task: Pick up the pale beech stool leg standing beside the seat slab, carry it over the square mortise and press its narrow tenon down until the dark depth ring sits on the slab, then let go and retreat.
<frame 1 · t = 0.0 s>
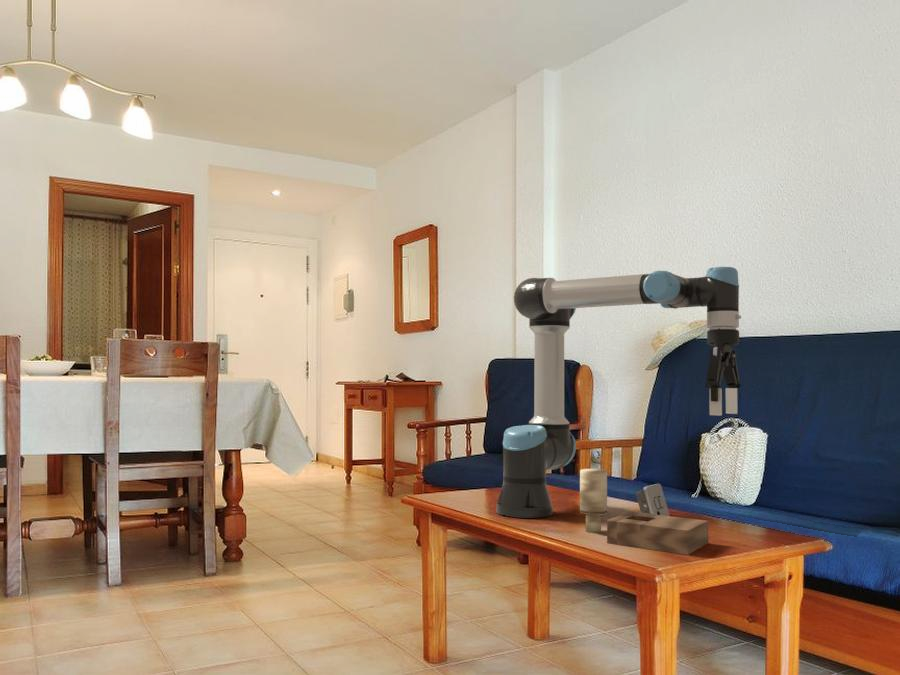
hand: (723, 414, 183), 28 cm above the table, fingers open, 13 cm apart
leg peg: (593, 531, 177), on the table
electrical switch: (652, 521, 192), on the table
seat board: (657, 543, 165), on the table
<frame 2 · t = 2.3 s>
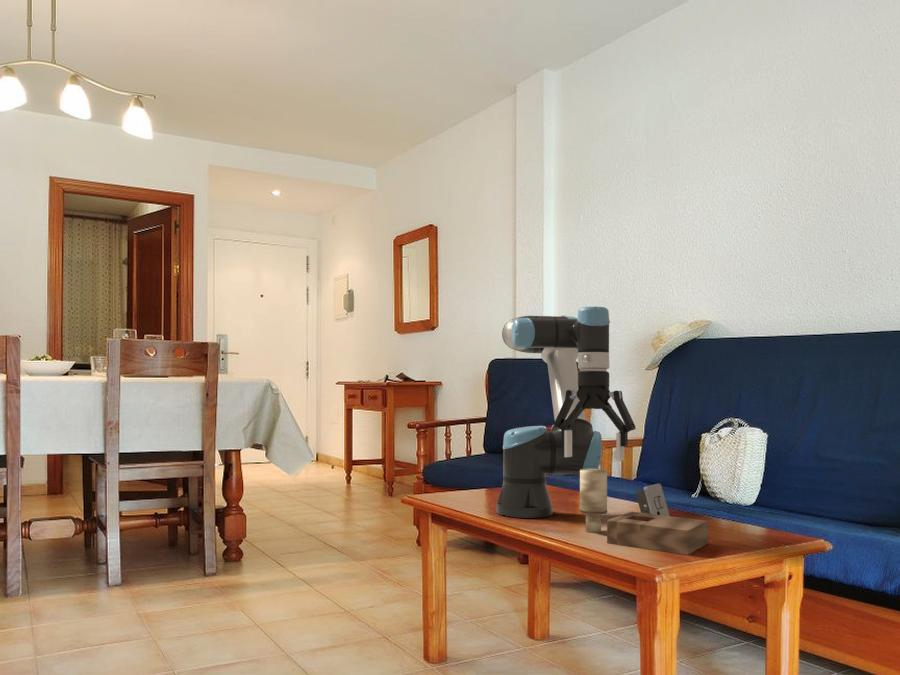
hand: (593, 458, 178), 17 cm above the table, fingers open, 13 cm apart
nothing on the table moved.
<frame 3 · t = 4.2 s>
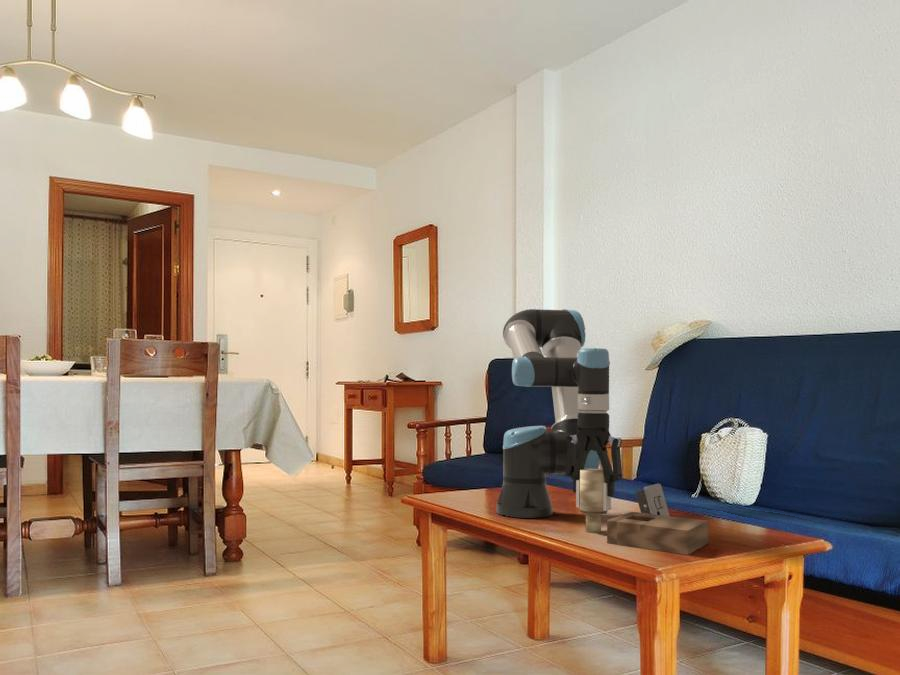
hand: (593, 508, 177), 5 cm above the table, fingers closed on leg peg, 6 cm apart
leg peg: (593, 531, 177), on the table, touching gripper
everything else where it was.
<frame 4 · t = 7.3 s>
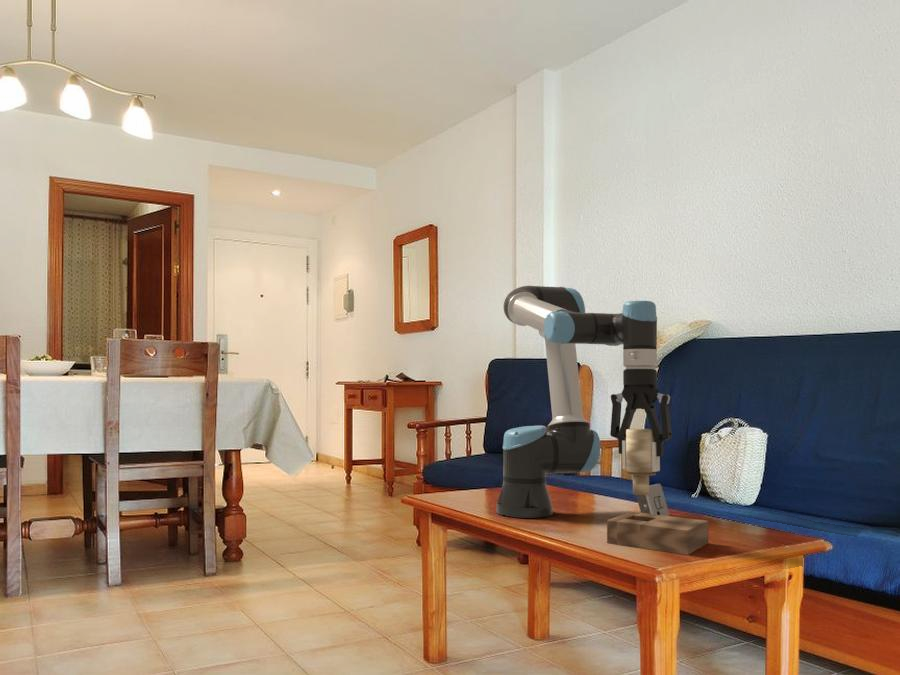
hand: (640, 469, 168), 16 cm above the table, fingers closed on leg peg, 6 cm apart
leg peg: (641, 493, 167), point 11 cm above the table, touching gripper
everything else where it was.
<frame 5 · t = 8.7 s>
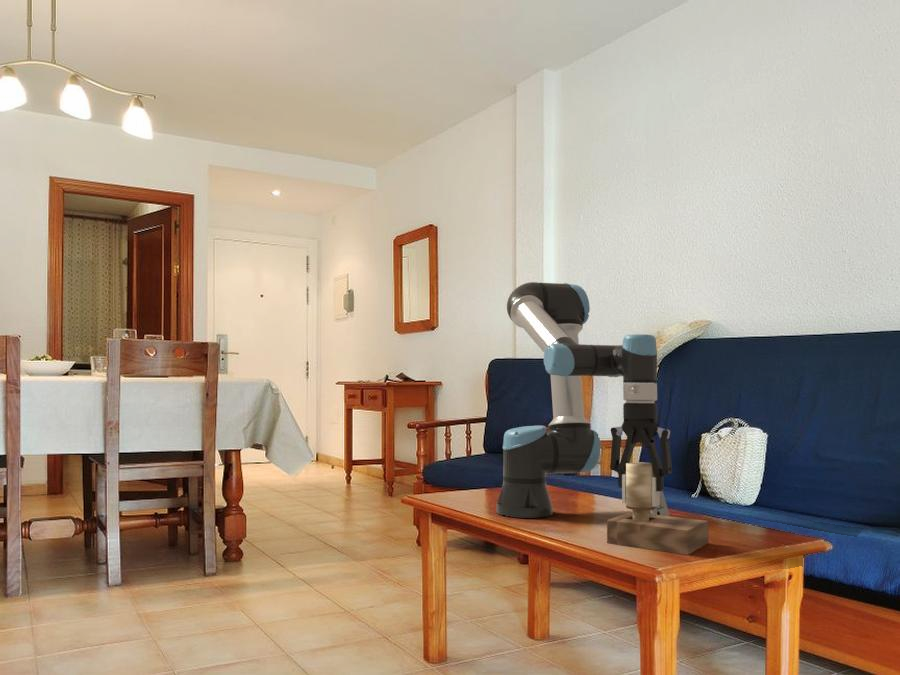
hand: (640, 504, 167), 8 cm above the table, fingers closed on leg peg, 6 cm apart
leg peg: (640, 528, 167), point 3 cm above the table, touching gripper
everything else where it was.
when the fingers open (6 cm above the table, at t = 10.2 s): leg peg stays where it is, resting on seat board.
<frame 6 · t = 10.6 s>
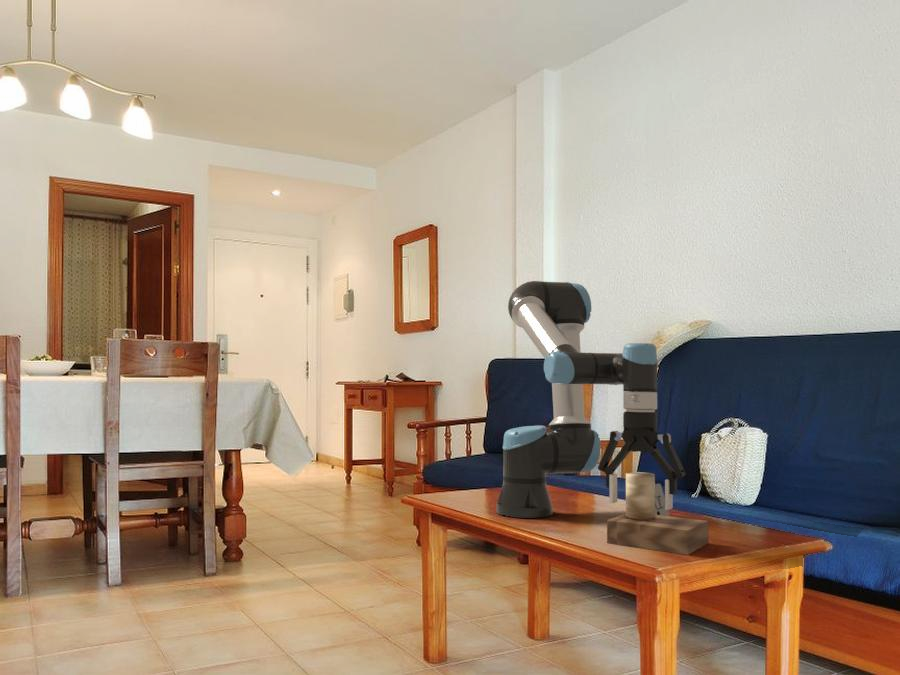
hand: (640, 505, 167), 8 cm above the table, fingers open, 12 cm apart
leg peg: (640, 538, 167), resting on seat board
everything else where it was.
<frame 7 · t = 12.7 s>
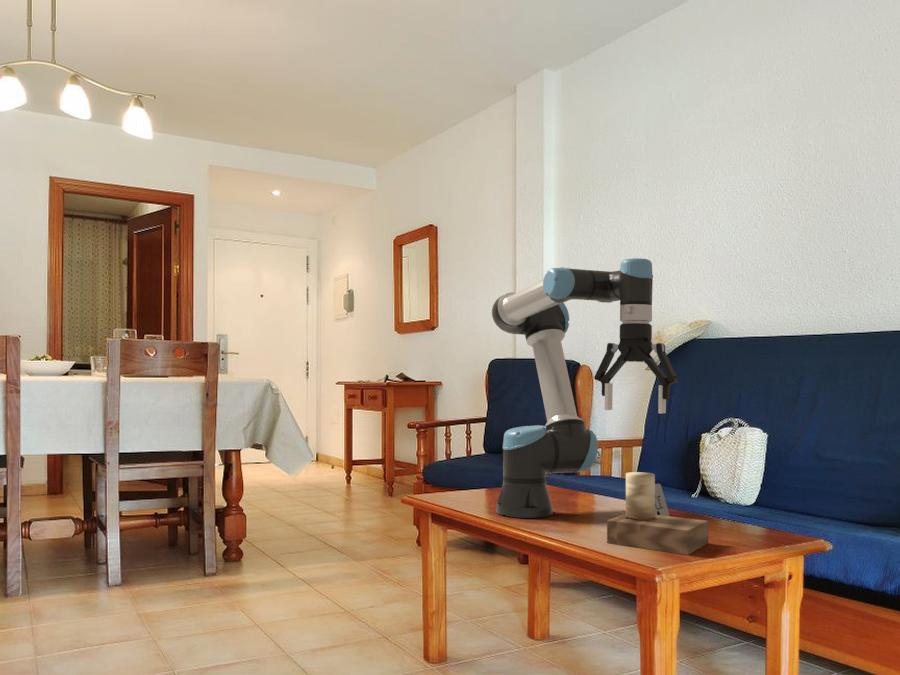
hand: (634, 411, 177), 29 cm above the table, fingers open, 13 cm apart
nothing on the table moved.
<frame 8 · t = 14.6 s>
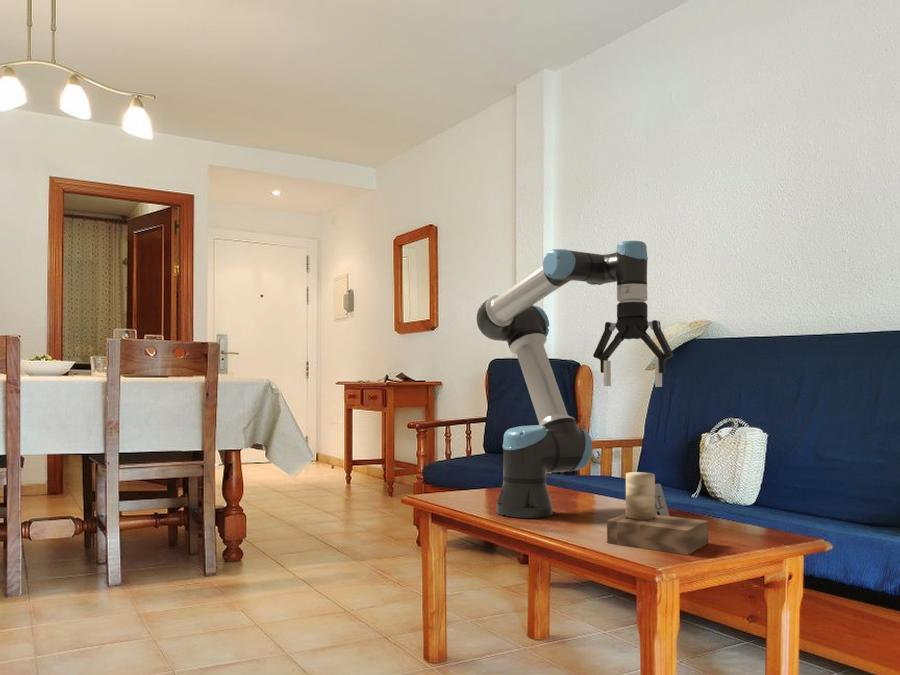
hand: (632, 386, 186), 35 cm above the table, fingers open, 13 cm apart
nothing on the table moved.
at the end: leg peg 0.0 cm from the target spot on the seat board, point 0.5 cm above the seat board's base; leg peg tilted 0°; the gripper is holding nothing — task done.
